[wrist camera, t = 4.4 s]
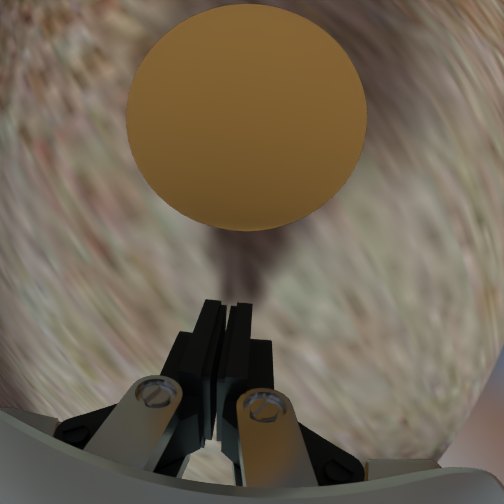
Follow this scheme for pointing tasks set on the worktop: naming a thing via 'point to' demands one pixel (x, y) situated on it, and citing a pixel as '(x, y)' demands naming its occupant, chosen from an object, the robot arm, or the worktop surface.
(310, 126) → the ball
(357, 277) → the worktop surface
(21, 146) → the worktop surface
